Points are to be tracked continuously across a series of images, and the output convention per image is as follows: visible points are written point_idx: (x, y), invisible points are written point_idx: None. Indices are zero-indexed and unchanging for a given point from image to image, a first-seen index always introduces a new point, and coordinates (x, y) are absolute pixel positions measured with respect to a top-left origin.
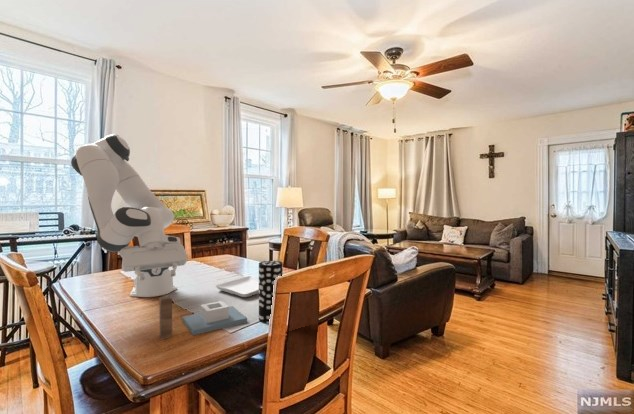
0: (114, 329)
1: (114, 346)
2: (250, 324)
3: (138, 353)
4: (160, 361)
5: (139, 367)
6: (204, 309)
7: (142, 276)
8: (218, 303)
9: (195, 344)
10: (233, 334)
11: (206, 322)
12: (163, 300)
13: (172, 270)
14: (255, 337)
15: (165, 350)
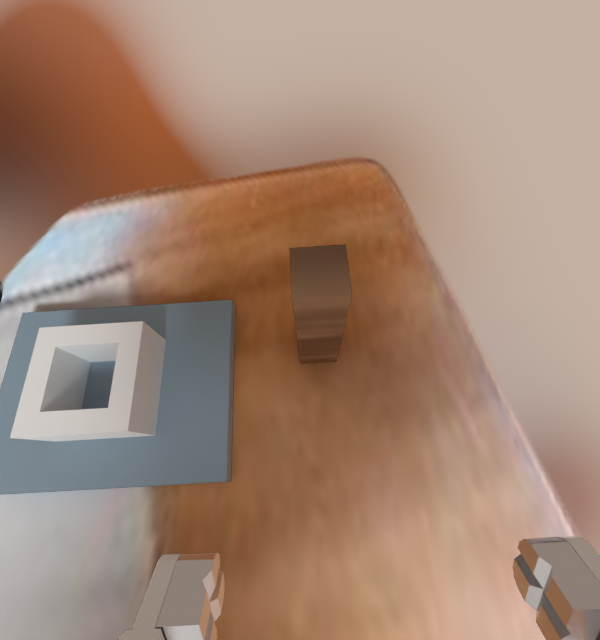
0: None
1: (479, 352)
2: (41, 296)
3: (398, 267)
4: (344, 201)
5: (391, 197)
6: (139, 361)
7: (561, 551)
8: (44, 411)
9: (246, 245)
10: (128, 253)
11: (164, 347)
12: (333, 247)
13: (175, 610)
14: (91, 208)
15: None
